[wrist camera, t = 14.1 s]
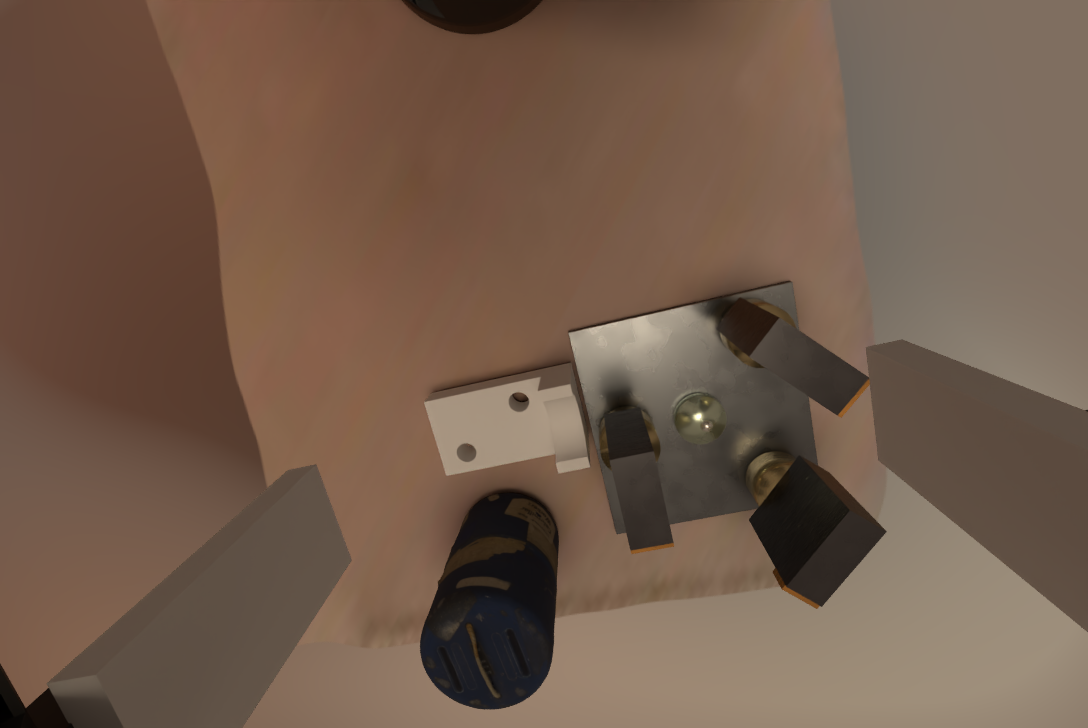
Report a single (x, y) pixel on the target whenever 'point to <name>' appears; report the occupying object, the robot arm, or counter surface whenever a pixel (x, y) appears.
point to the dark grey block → (790, 354)
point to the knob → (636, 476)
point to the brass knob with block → (808, 525)
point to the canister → (495, 605)
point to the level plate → (694, 401)
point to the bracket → (511, 422)
